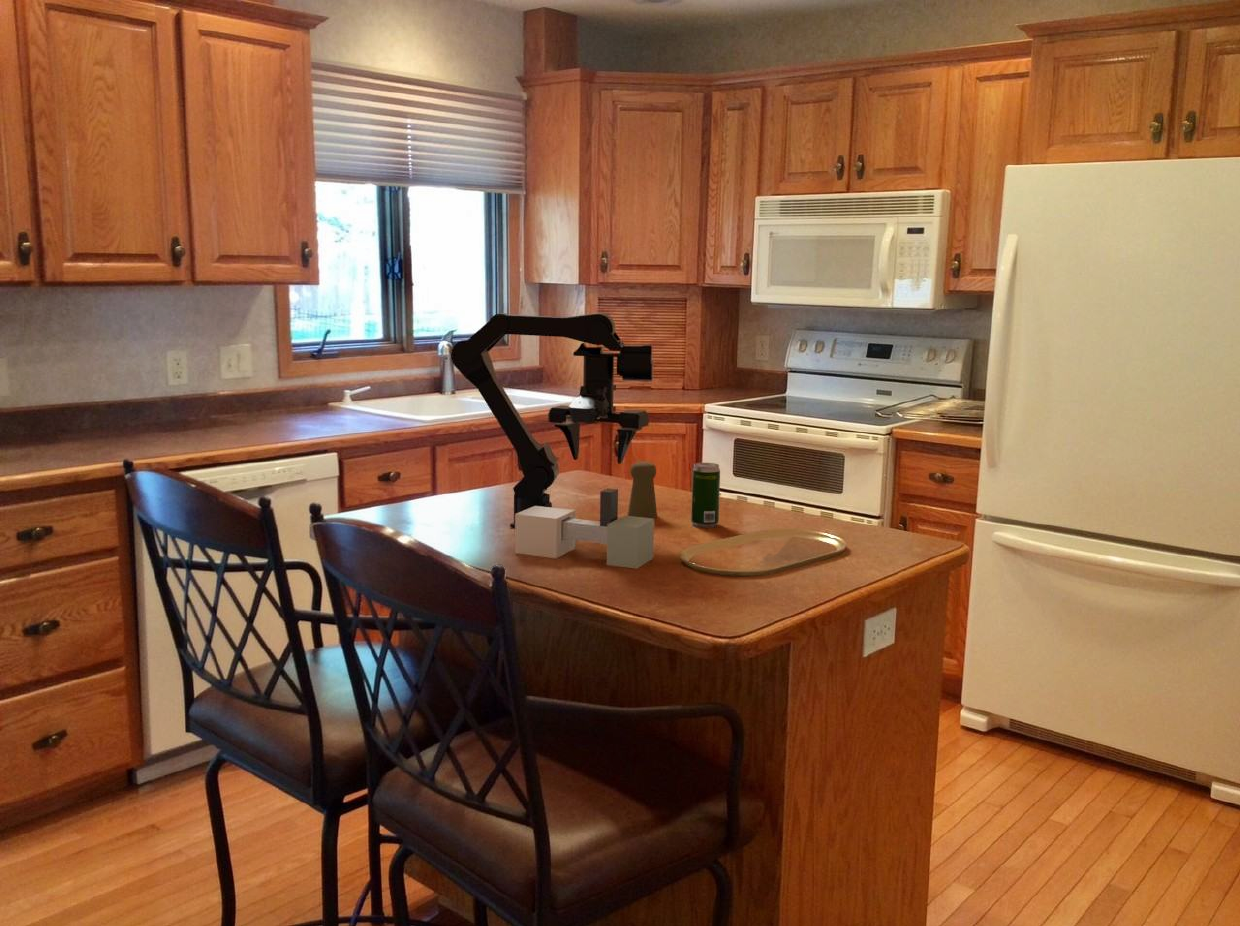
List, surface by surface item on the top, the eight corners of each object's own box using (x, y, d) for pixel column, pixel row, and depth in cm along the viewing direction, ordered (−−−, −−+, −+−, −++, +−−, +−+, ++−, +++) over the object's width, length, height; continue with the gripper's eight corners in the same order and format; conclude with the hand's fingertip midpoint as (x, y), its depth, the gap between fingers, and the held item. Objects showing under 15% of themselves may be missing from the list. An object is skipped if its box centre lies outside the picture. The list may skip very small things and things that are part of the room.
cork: (654, 519, 217) (655, 465, 215) (625, 518, 218) (626, 464, 216) (659, 513, 223) (660, 460, 221) (630, 511, 224) (631, 459, 222)
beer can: (723, 526, 212) (725, 466, 210) (699, 528, 210) (701, 468, 207) (709, 520, 217) (711, 461, 215) (686, 523, 214) (687, 463, 212)
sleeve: (515, 553, 189) (515, 514, 188) (535, 543, 196) (535, 505, 195) (556, 558, 186) (556, 518, 185) (575, 548, 193) (575, 510, 192)
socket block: (606, 564, 183) (607, 524, 181) (624, 554, 190) (624, 515, 188) (636, 568, 181) (637, 527, 179) (653, 558, 187) (654, 518, 186)
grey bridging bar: (553, 537, 188) (553, 486, 187) (560, 533, 191) (560, 483, 190) (632, 546, 183) (633, 494, 181) (639, 543, 186) (640, 491, 184)
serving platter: (657, 562, 186) (657, 554, 186) (784, 532, 210) (785, 524, 210) (740, 586, 173) (741, 577, 172) (866, 550, 196) (867, 542, 196)
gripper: (534, 381, 200) (534, 464, 203) (627, 386, 193) (626, 472, 196) (561, 376, 210) (560, 455, 213) (650, 381, 203) (648, 463, 206)
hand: (597, 461), depth 207 cm, fingers open, 9 cm apart
